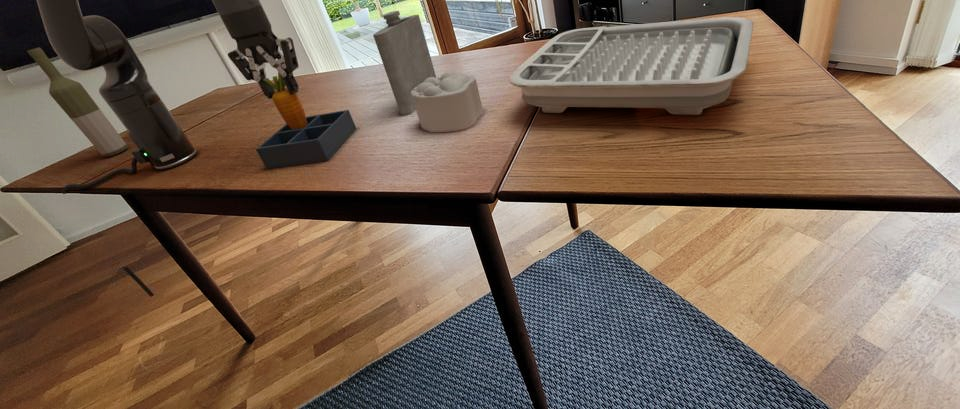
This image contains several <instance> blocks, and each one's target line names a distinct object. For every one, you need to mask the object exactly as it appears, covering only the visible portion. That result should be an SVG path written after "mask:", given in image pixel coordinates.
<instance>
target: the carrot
mask: <svg viewBox="0 0 960 409" xmlns="http://www.w3.org/2000/svg"><path fill="white" fill-rule="evenodd" d="M267 78H268V77H266V78H264V80H263V81H265V82H266V83H268V84H269V85H270V86H272V87H273V88H274V90H275V93H274V94H273V96H272V98H271V100H272V103H273V104H274V106H275V107H276V109H277V111H278V113H279V115H280V116H281V118H282V119H283V120H284V122H285V124H288V126H289V127H290V128H291V129H292V130H295V129H302V128H305V127H306V126H307V120H306V117H307V116H306V113H305V110H304V106H303V105H302V103H301V100H300V98H299V95H298V92H297V93H296V94H292V95H291V94H290V93H289V91H288V89H287V87H286V85H285V83H284V81H283V79H282V78H283V76H282V75H281V74H280V73H279V72H278V71H277V76H276V75H274V76H272V81H273V82H272V81H271V80H270V79H267Z"/></svg>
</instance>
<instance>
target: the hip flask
mask: <svg viewBox="0 0 960 409" xmlns="http://www.w3.org/2000/svg"><path fill="white" fill-rule="evenodd" d="M400 15H401V13H400V10H393V11H390V12H387V13H384V14H382V17H383V20H385V23H386V25H387V26H385V27H383V28H381V29H380V30H377V31H376V32H375V33H373V34H372V36H373V39H374V42H375V44H376V48H377V51H378V53H379V56H380V59H381V62H382V65H383V68H384V71H385V73H386V77H387V79H388V82H389V85H390V89H391V91H392V93H393V94H392V95H393V96H394V99H395V102H396V106H397V108H398V111H399V114H400V115H401V116H406V115H409V114H412V113H413V112H414V111H416V109H415V106H414V102H413V99H412V96H411V91H412V90H413V89H414V88H415V87H417V86H418V85H420V84H421V83H423V82H424V81H425V80H426V79H427V78H429V77H435V78H437V75H436V71H435V68H434V65H433V64H434V63H433V60H432V57H431V54H430V49H429V46H428V42H427V40H426V36H425V32H424V29H423V26H422V21H421V19H420V18H421V17H420V15H419V14H412V15H408V16H405V17H400Z"/></svg>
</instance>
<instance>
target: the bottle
mask: <svg viewBox="0 0 960 409" xmlns="http://www.w3.org/2000/svg"><path fill="white" fill-rule="evenodd" d="M26 52H27V53H28V55H29V56H30V57H31V58H32V59H33V60H34V61H35V63H36V64H37V65H38V67H40V69H41V70H42V71H43V72H44V74H45V75H46V76H47V77H48V79H49V80H50V83H49V89H48V93H49V96H50V97H51V98H52V99H53V100H54V102H56V104H58V106H59V107H60V108H61V110H62V111H63V112H64V113H65V114H66V115H67V116H68V118H69V119H70V120H71V121H72V122H73V123H74V125H76V127H77V128H78V129H79V130H80V131H81V133H82V134H83V135H84V136H85V137H86V138H87V140H88V141H89V142H90V143H91V144H92V146H94V148H95V149H96V151H98V152H99V153H100V155H101V156H103V157H104V158H105V157H106V158H108V157H114V156H116V155H119V154H122V153H123V152H124V151H126V150H127V149H128V145H127V143H126V142H125V141H124V139H123V138H122V137H121V135H120V133H119V132H118V131H117V130H116V129H115V126H113V124H112V123H111V121H109V119H108V117H106V115H105V114H104V112H103V111H102V110H101V108H100V107H99V106H98V105H97V103H96V102H95V100H94V99H93V98H92V97H91V95H90V94H89V93H88V91H87V90H86V88H85V87H84V86H83V85H82V84H81V83H80V82H79V81H76V80H74V79H70V78H68V77H65V76H64V75H62V74H61V72H60V70H58V69H57V67H56V66H55V65H54V63H53V62H52V61H51V60H50V59H49V57H48V56H47V55H46V53H45V51H44V50H43V49H42V48H41V47H36V48H31V49H28V50H26Z"/></svg>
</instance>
